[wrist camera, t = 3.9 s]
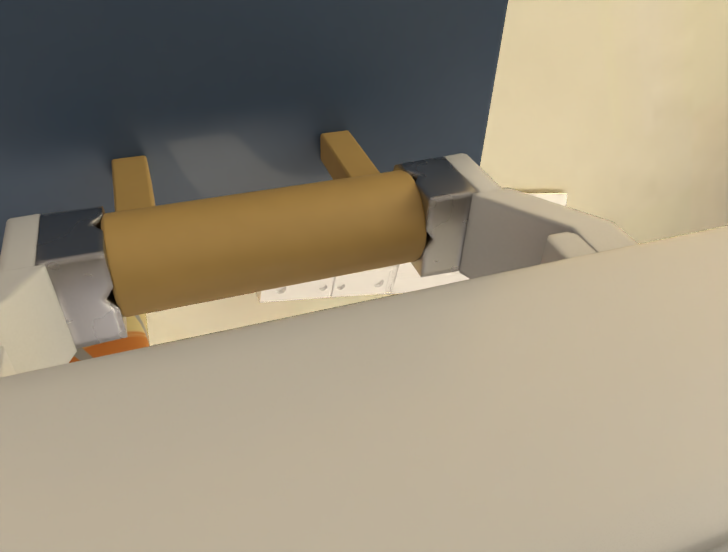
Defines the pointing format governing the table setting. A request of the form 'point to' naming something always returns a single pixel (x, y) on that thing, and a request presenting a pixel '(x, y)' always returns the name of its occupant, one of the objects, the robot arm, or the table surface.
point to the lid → (239, 131)
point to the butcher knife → (375, 278)
